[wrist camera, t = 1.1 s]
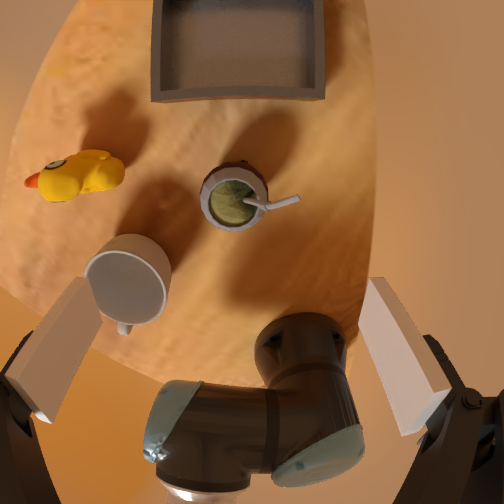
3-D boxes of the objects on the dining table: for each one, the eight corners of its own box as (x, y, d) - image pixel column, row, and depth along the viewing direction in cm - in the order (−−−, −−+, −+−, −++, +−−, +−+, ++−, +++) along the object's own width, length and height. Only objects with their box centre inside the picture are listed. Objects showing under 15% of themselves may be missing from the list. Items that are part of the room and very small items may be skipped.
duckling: (63, 185, 34) (19, 210, 25) (62, 148, 31) (15, 163, 22) (133, 189, 34) (98, 216, 25) (134, 147, 32) (96, 162, 23)
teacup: (118, 211, 36) (91, 236, 29) (190, 245, 38) (178, 277, 31) (98, 288, 41) (76, 320, 34) (159, 317, 43) (146, 353, 36)
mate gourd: (199, 201, 35) (170, 259, 22) (220, 141, 32) (200, 160, 19) (256, 220, 37) (262, 287, 23) (280, 162, 33) (303, 197, 20)
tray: (313, 101, 30) (324, 99, 25) (165, 103, 30) (151, 102, 25) (311, -2, 24) (322, -19, 19) (167, 0, 23) (154, -15, 19)
